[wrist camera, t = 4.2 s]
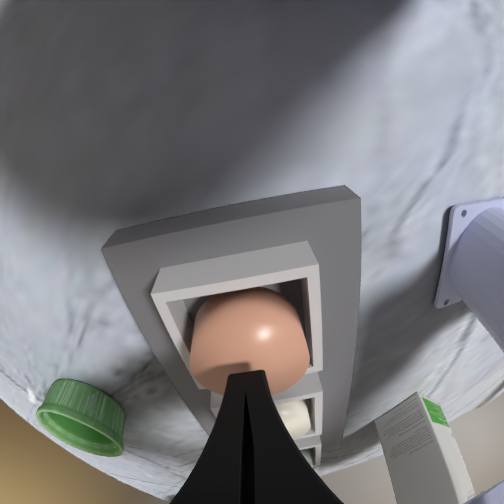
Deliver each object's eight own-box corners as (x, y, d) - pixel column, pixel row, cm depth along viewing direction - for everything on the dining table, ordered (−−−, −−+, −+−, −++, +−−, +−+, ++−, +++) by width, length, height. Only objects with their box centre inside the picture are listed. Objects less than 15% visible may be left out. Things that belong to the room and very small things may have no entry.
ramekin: (78, 419, 25) (69, 449, 21) (34, 370, 20) (18, 403, 16) (144, 426, 24) (138, 461, 21) (104, 375, 20) (90, 418, 16)
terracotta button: (294, 276, 12) (306, 313, 10) (302, 352, 15) (311, 388, 12) (180, 296, 12) (171, 335, 10) (210, 367, 15) (209, 403, 13)
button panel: (345, 185, 14) (380, 215, 10) (336, 434, 27) (343, 463, 24) (115, 231, 14) (84, 271, 11) (232, 451, 28) (233, 480, 24)
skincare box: (439, 401, 27) (479, 496, 14) (398, 429, 29) (430, 522, 16) (416, 389, 24) (465, 509, 11) (368, 421, 27) (402, 537, 13)
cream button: (303, 378, 17) (309, 408, 15) (306, 412, 20) (311, 438, 18) (228, 390, 18) (228, 420, 16) (243, 422, 20) (244, 448, 18)
